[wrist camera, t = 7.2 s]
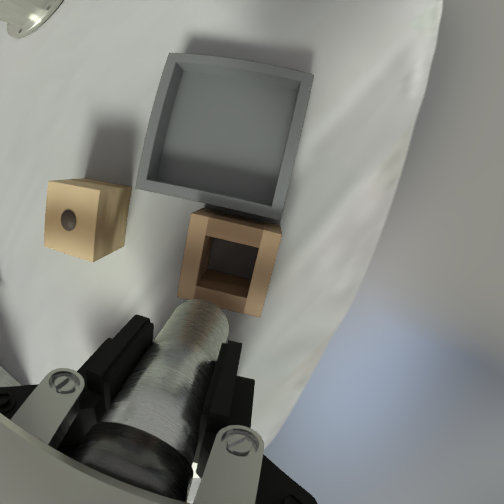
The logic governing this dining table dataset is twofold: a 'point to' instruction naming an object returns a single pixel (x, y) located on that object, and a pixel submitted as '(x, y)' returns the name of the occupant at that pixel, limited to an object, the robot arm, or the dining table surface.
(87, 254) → the oak block
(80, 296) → the dining table surface
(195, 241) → the square wooden socket
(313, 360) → the dining table surface
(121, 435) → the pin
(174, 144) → the tray
